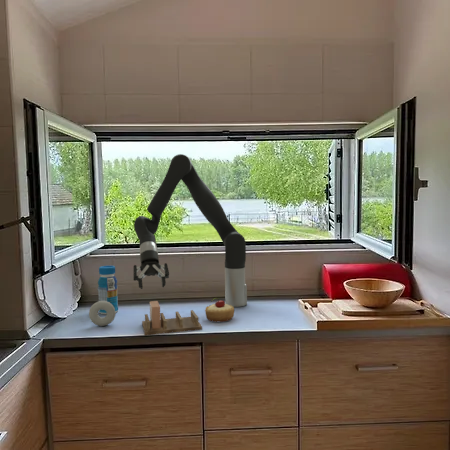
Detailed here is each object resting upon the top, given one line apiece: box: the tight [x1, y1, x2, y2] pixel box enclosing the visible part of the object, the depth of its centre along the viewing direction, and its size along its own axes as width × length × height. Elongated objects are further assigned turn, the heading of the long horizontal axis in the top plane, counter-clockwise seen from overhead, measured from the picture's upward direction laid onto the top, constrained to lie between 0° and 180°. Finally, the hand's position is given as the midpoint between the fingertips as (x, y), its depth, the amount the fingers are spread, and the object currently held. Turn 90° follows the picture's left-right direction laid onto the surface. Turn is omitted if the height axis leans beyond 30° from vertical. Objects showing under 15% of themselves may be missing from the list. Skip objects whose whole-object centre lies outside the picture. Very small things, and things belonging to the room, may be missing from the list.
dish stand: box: [141, 309, 203, 336], centre depth 157 cm, size 21×14×4 cm, turn 105°
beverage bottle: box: [97, 265, 119, 315], centre depth 179 cm, size 8×8×20 cm
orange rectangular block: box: [149, 300, 161, 329], centre depth 156 cm, size 3×9×8 cm, turn 15°
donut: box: [88, 300, 117, 327], centre depth 159 cm, size 10×4×10 cm, turn 99°
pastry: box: [204, 297, 235, 323], centre depth 166 cm, size 12×12×9 cm
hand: (152, 287), depth 163 cm, fingers open, 8 cm apart
